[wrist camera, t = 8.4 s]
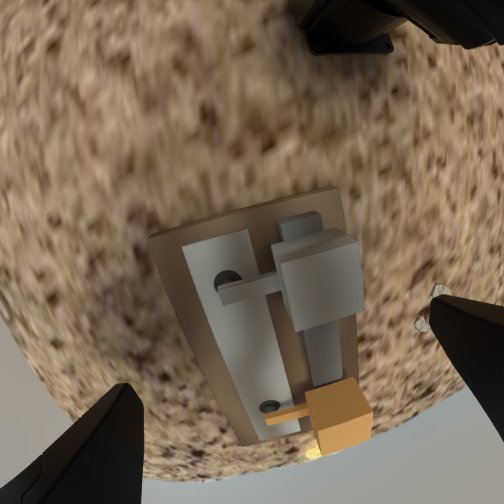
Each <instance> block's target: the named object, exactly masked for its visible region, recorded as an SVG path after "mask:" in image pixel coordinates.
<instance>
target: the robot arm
mask: <svg viewBox="0 0 504 504" xmlns="http://www.w3.org/2000/svg"><path fill="white" fill-rule="evenodd" d="M288 3H289V6H290V8H291V11H292V13H293V16H294V19H295V21H296V24H297V27H298V28H300V29H301V30H302V31H303V34H304V36H305V39H306V42H307V45H308V48H309V51H310V52H311V53H312V54H313V55H315V56H323V55H339V54H390V53H392V52H393V50H394V47H393V44H392V42H391V39H390V36H389V34H388V32H390V31H391V30H393V29H394V28H396V27H398V26H399V25H401V24H403V23H404V22H406V21H408V20H409V21H410V22H412V23H413V24H415V25H416V26H417V27H419V28H420V29H421V30H423V31H424V32H425V33H426V34H428V35H429V38H430V39H432V40H433V41H434V42H435V43H438V44H450V45H461V46H462V47H463V48H464V49H466V50H470V49H475V48H479V47H482V46H487V45H492V44H494V43H496V42H497V43H498V44H499V45H504V0H288ZM385 45H386V46H387V47H388V49H387V48H386V47H385ZM314 46H317V47H319V48H320V51H318V50H316V49H315V48H314ZM429 325H430V328H431V330H432V331H433V333H434V335H435V336H436V338H437V340H438V341H439V343H440V344H441V346H442V348H443V350H444V351H445V353H446V355H447V356H448V358H449V360H450V361H451V363H452V365H453V366H454V367H455V369H456V370H457V372H458V373H459V374H460V376H461V377H462V379H463V380H464V381H465V383H466V384H467V386H468V387H469V389H470V390H471V391H472V393H473V394H474V396H475V397H476V399H477V400H478V402H479V403H480V405H481V406H482V408H483V409H484V411H485V412H486V414H487V416H488V417H489V419H490V420H491V422H492V423H493V425H494V427H495V428H496V430H497V432H498V433H499V435H500V437H501V438H502V440H503V442H504V306H499V305H494V304H489V303H485V302H480V301H475V300H470V299H465V298H460V297H456V296H451V295H446V294H441V295H439V296H436V297H434V298H433V299H432V300H431V303H430V315H429ZM143 462H144V406H143V403H142V401H141V399H140V398H139V396H138V395H137V393H136V392H135V390H134V389H133V387H132V386H131V385H130V384H129V383H119V384H116V385H114V386H113V387H112V388H111V389H110V390H109V391H108V392H107V393H106V394H105V395H104V396H103V397H102V398H100V399H99V400H98V401H97V402H96V403H95V404H94V405H93V406H92V407H91V408H90V409H89V410H88V411H87V412H86V413H85V414H83V415H82V416H81V417H80V418H79V419H78V420H77V421H76V422H75V423H74V424H73V425H72V426H71V427H70V428H69V429H68V430H66V431H65V432H64V434H62V435H61V436H60V437H59V438H58V439H57V440H56V441H55V442H54V443H53V444H52V445H51V446H49V447H48V448H47V449H46V450H45V451H44V452H43V453H42V455H40V456H39V457H38V458H37V459H36V460H35V461H33V462H32V463H31V464H30V465H29V466H28V467H27V468H26V469H24V470H23V471H22V472H21V473H20V474H18V475H17V476H16V477H15V478H13V479H12V480H11V481H9V482H8V483H7V484H6V485H4V486H3V487H2V488H0V504H141V494H142V492H141V491H142V476H143Z"/></svg>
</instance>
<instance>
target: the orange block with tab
mask: <svg viewBox="0 0 504 504" xmlns="http://www.w3.org/2000/svg"><path fill="white" fill-rule="evenodd" d="M305 397H306V402H307V403H304V404H301V405H297V406H294V407H290V408H286V409H282V410H278V411H276V408H275V407H274V406H267V407H266V408H265V414H264V416H265V421H266V423H267V425H268V426H269V425H274V424H278V423H282V422H286V421H290V420H293V419H297V418H301V417H304V416H308V415H309V416H310V421H311V424H312V427H313V430H314V433H315V436H316V439H317V442H318V445H319V449H320V452H321V455H322V456H323V455H326V454H330V453H333V452H336V451H339V450H342V449H345V448H347V447H350V446H353V445H356V444H358V443H361V442H364V441H366V440H369V439H370V438H371V428H372V417H373V411H372V409H371V407H370V405H369V404H368V402H367V400H366V398H365V396H364V394H363V392H362V391H361V389H360V387H359V385H358V383H357V382H356V380H355V378H354V376H353V377H350V378H347V379H344V380H341V381H338V382H336V383H333V384H330V385H326V386H323V387H320V388H317V389H314V390H311V391H307V392H305Z"/></svg>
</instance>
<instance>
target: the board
mask: <svg viewBox="0 0 504 504" xmlns="http://www.w3.org/2000/svg"><path fill="white" fill-rule="evenodd" d="M147 241H148V244H149V246H150V249H151V252H152V255H153V257H154V260H155V263H156V266H157V268H158V271H159V273H160V276H161V279H162V281H163V284H164V286H165V289H166V291H167V294H168V296H169V299H170V301H171V304H172V306H173V308H174V311H175V313H176V316H177V318H178V320H179V323H180V325H181V327H182V329H183V332H184V334H185V336H186V338H187V341H188V343H189V345H190V347H191V349H192V351H193V354H194V356H195V358H196V360H197V362H198V364H199V366H200V368H201V370H202V372H203V374H204V376H205V378H206V380H207V382H208V384H209V386H210V388H211V390H212V392H213V394H214V396H215V398H216V400H217V402H218V404H219V406H220V408H221V409H222V411H223V413H224V415H225V417H226V419H227V420H228V422H229V424H230V426H231V428H232V429H233V431H234V433H235V435H236V436H237V438H238V440H239V442H240V443H241V445H242V447H243V446H249V445H254V444H259V443H264V442H269V441H273V440H278V439H282V438H286V437H290V436H294V435H297V434H301V433H305V432H308V431H312V430H313V427H312V424H311V421H310V416H309V415H308V416H304V417H301V418H297V419H293V420H290V421H286V422H282V423H278V424H274V425H269V426H268V425H267V423H266V421H265V416H264V414H265V408H266V407H267V406H274V407H275V408H276V411H278V410H282V409H286V408H290V407H294V406H297V405H301V404H304V403H307V402H306V397H305V392H307V391H311V390H314V389H317V388H320V387H323V386H326V385H330V384H333V383H336V382H338V381H341V380H344V379H347V378H350V377H353V376H354V378H355V380H356V382H357V383H358V385H359V370H358V344H357V328H356V314H355V313H358V312H361V311H363V310H365V305H364V291H363V279H362V269H361V259H360V250H359V242H358V241H357V240H355V239H354V238H352V237H351V236H349V235H348V234H346V228H345V221H344V215H343V209H342V203H341V197H340V192H339V188H338V187H334V186H329V187H325V188H320V189H316V190H312V191H308V192H304V193H299V194H295V195H291V196H287V197H283V198H279V199H275V200H271V201H267V202H264V203H260V204H256V205H252V206H248V207H245V208H241V209H237V210H233V211H230V212H226V213H222V214H219V215H215V216H212V217H208V218H205V219H201V220H198V221H194V222H191V223H187V224H184V225H181V226H177V227H174V228H170V229H167V230H164V231H161V232H157V233H154V234H151V235H150V237H149V238H148V239H147Z"/></svg>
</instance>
